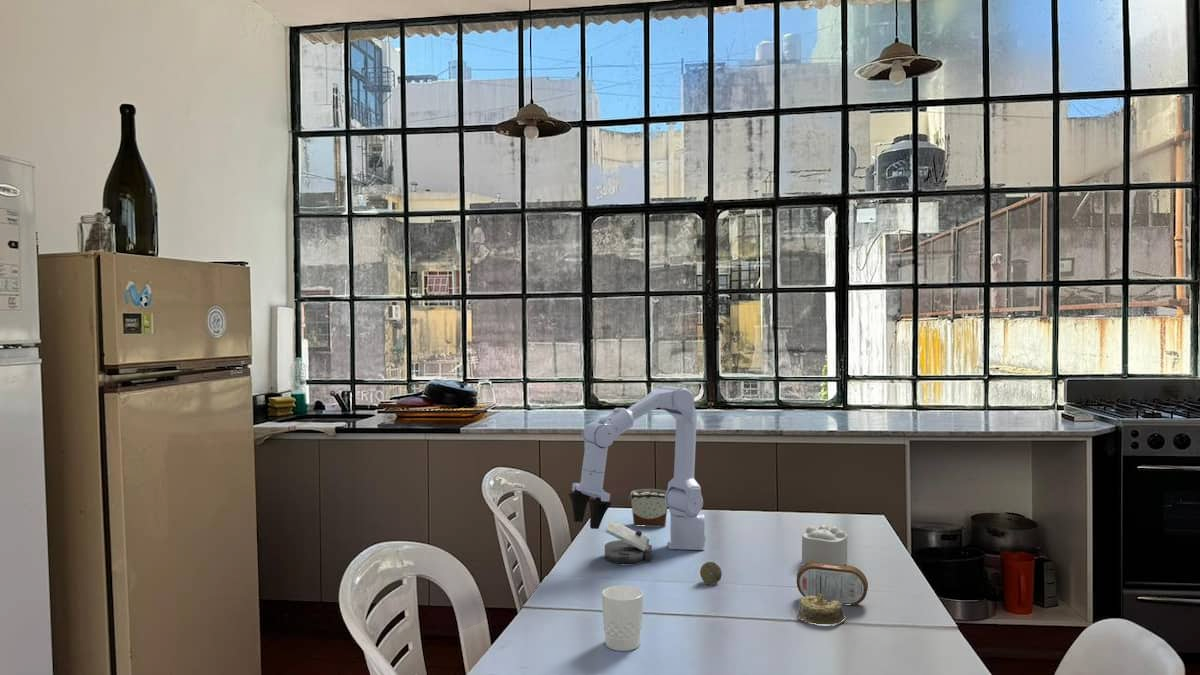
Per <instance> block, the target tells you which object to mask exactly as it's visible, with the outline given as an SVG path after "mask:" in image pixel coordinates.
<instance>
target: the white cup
mask: <svg viewBox="0 0 1200 675" xmlns="http://www.w3.org/2000/svg"><path fill="white" fill-rule="evenodd" d="M601 596H602V597H601V598H602V618H603V622H602V623H603V631H604V643H605V646H606V647H607V648H608V649H611V650H613V651H617V652H628V651H633V650H635V649H638V648H639V647H640V645H641V636H642V635H641V632H642V631H641V630H642V628H643V627H642V624H643V622H642V621H643V611H644V610H643V606H644V603H643V602H644V591H643V590H642V589H640V588H638V587H635V586H632V585H614V586H610V587H606V588H604V589H603V590H602V591H601Z"/></svg>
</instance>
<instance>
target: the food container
mask: <svg viewBox="0 0 1200 675" xmlns="http://www.w3.org/2000/svg"><path fill="white" fill-rule="evenodd" d="M666 492H667V490H664V489H657V488H641V489H634V490H632V491H631V492H630V494H629V497H628V500H630V501H631V503H630V504H631V512H632V519H633V520H632V521H633V526H634V525H645V526H644V527H652V526H665V527H666V524H667V523H666V522H667V515H668V514H667V513H668V506H667V505H666V503H665V494H666Z"/></svg>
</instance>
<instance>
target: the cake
mask: <svg viewBox="0 0 1200 675" xmlns="http://www.w3.org/2000/svg"><path fill="white" fill-rule="evenodd" d="M819 594H820V593H819ZM819 594H818V595H819ZM819 596H821V597H816V596H812V595H811V596H805V597H804V596H802V597H801V598H800V599H799V601H798V612H797V618H798V617H800V619H803V620H804V621H807V622H810V623H816V624H834V623H839V622H841V621H842V620H843V619H844V618H845V619H846V616H845V614H844V607H843V605H841V603H840V602H839V601H832V602H829V603H828V602H827V601H826V600H823V596H822V595H821V594H820V595H819ZM844 616H845V617H844ZM800 619H799V620H800ZM804 621H803V622H804Z"/></svg>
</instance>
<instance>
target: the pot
mask: <svg viewBox="0 0 1200 675" xmlns="http://www.w3.org/2000/svg"><path fill="white" fill-rule="evenodd" d="M652 558H653V545H652V544H649V549H648V551H646V550H645V551H643V550H641V549H639V548H637V547H635V546H633V545H631V544H629V543H626V542H624V541H622V540H620V539H618V540H612V541H609V542H607V543H605V544H604V560H605V561H606V562H608V563H611V564H615V565H621V564H632V565H639V564H641V563H644V562H646V563H648V562H649V563H651V562H652ZM638 563H639V564H638Z"/></svg>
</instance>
